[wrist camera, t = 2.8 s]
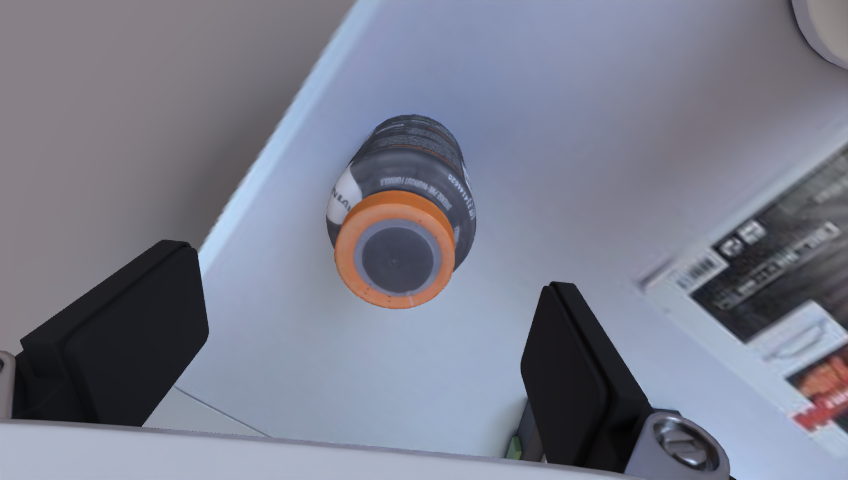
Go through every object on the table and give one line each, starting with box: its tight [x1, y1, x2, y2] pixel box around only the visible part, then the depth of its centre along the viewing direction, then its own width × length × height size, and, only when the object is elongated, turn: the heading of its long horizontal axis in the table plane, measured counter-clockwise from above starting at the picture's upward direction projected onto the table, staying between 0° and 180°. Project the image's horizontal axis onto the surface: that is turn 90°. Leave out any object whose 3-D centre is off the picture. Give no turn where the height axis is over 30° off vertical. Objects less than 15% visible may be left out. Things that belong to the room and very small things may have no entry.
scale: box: [505, 399, 682, 463], centre depth 32 cm, size 14×12×3 cm
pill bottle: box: [326, 114, 476, 309], centre depth 18 cm, size 6×6×11 cm
